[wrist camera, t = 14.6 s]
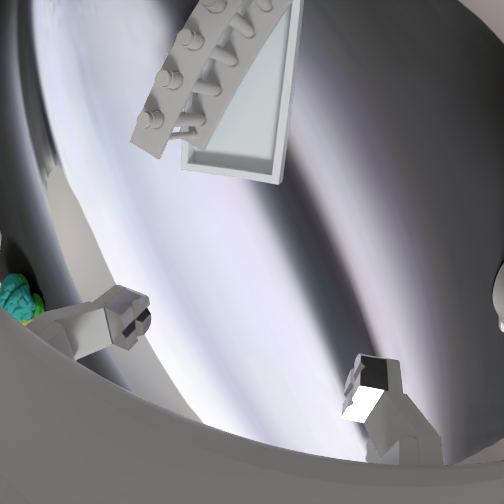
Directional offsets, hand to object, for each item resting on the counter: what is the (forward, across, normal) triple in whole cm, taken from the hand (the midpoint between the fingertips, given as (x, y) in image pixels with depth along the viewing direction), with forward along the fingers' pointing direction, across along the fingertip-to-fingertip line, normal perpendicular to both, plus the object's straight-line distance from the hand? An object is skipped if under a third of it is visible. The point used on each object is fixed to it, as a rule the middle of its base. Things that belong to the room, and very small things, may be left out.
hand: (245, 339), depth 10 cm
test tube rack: (+29, -12, +15) cm, 35 cm away
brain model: (+31, -77, -44) cm, 94 cm away
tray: (+31, -12, +16) cm, 37 cm away
